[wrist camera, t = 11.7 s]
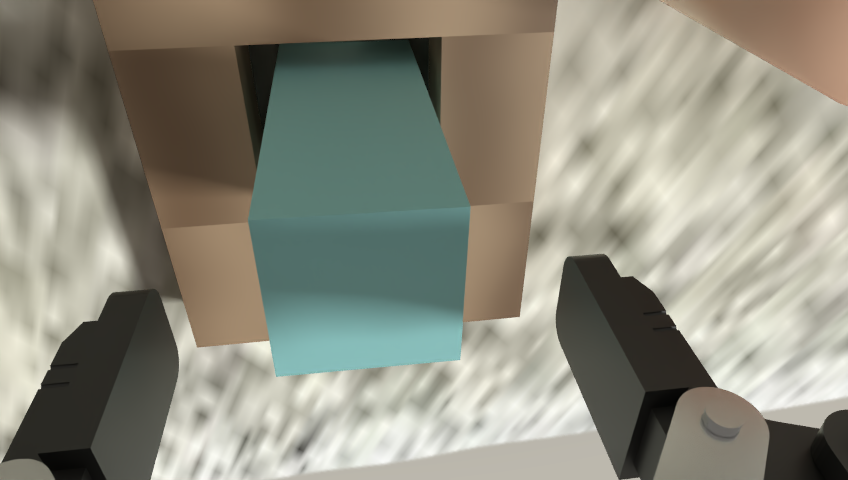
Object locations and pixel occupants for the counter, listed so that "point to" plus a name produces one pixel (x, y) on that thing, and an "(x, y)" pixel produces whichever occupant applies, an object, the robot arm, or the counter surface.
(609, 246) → the counter surface
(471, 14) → the board
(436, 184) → the square peg
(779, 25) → the round peg
